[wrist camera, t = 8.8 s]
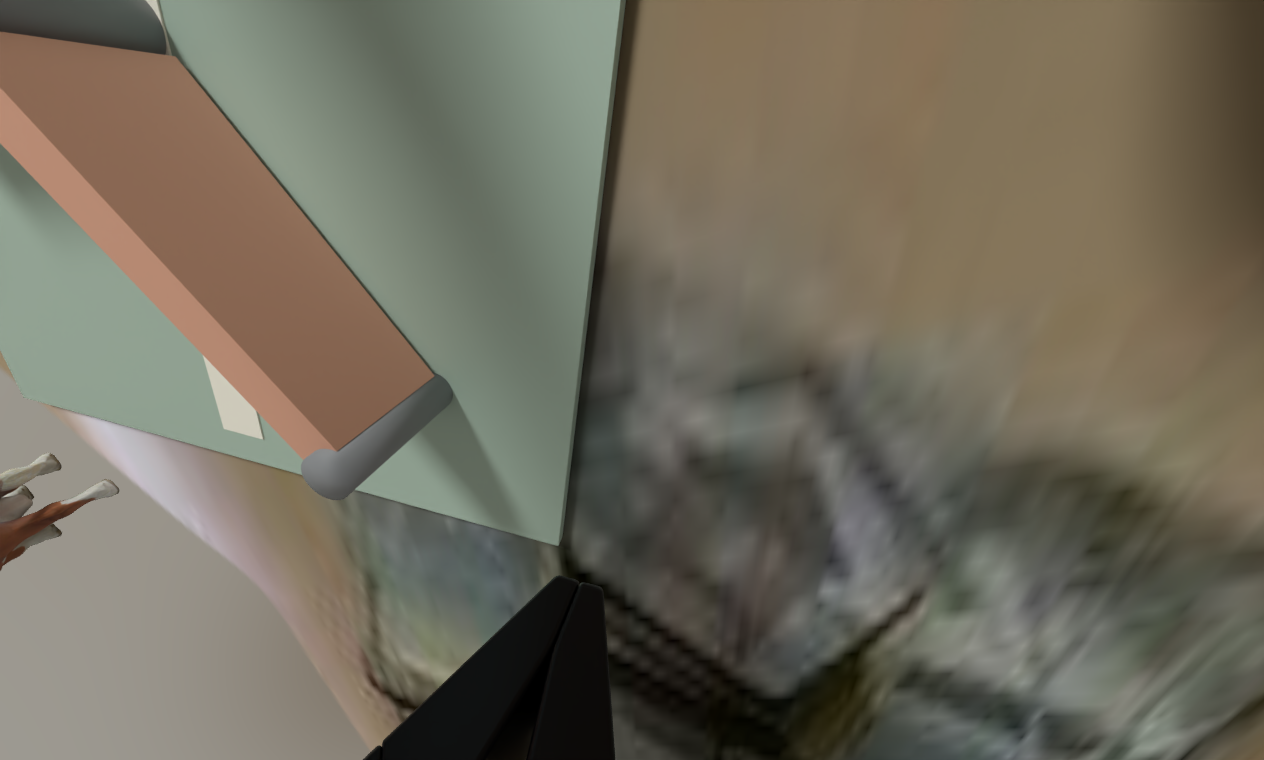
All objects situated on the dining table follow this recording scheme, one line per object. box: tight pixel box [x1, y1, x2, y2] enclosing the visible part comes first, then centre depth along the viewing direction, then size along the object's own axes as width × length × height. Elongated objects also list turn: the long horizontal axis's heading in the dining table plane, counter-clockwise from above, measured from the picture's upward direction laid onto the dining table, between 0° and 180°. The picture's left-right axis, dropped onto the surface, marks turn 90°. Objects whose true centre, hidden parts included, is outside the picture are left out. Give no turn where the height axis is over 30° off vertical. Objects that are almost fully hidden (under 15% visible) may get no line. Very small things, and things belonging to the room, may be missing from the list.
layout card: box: [0, 0, 626, 546], centre depth 15 cm, size 24×25×1 cm
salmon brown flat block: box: [0, 32, 453, 500], centre depth 13 cm, size 1×12×5 cm, turn 32°
